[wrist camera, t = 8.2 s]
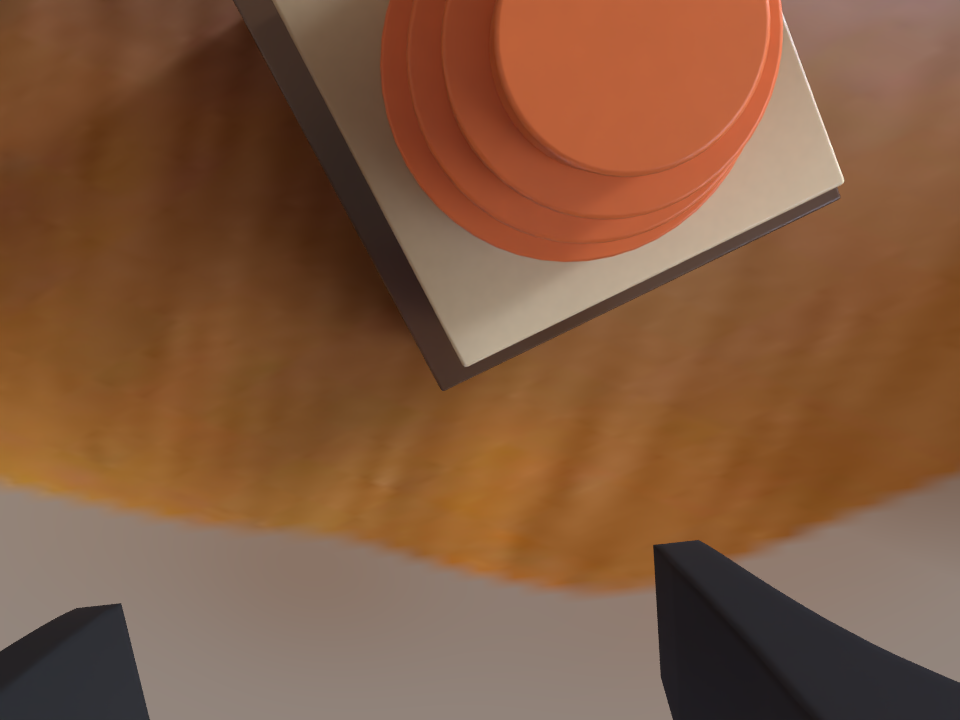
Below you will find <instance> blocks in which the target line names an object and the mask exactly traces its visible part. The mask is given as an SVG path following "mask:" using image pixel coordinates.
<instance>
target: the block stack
mask: <svg viewBox="0 0 960 720" xmlns="http://www.w3.org/2000/svg"><path fill="white" fill-rule="evenodd" d="M233 1H234V3H235V5H236V7H237V9H238V11H239V13H240V14H241V16H242V18H243V20H244V22H245V24H246V26H247V28H248V29H249V31H250V33H251V35H252V37H253V39H254V41H255V43H256V44H257V46H258V48H259V50H260V52H261V54H262V56H263V58H264V59H265V61H266V63H267V65H268V67H269V69H270V71H271V72H272V74H273V76H274V78H275V80H276V82H277V84H278V86H279V87H280V89H281V91H282V93H283V95H284V97H285V99H286V101H287V102H288V104H289V106H290V108H291V110H292V112H293V114H294V116H295V117H296V119H297V121H298V123H299V125H300V127H301V129H302V131H303V132H304V134H305V136H306V138H307V140H308V142H309V144H310V146H311V147H312V149H313V151H314V153H315V155H316V157H317V159H318V160H319V162H320V164H321V166H322V168H323V170H324V172H325V174H326V175H327V177H328V179H329V181H330V183H331V185H332V187H333V189H334V190H335V192H336V194H337V196H338V198H339V200H340V202H341V204H342V205H343V207H344V209H345V211H346V213H347V215H348V217H349V219H350V220H351V222H352V224H353V226H354V228H355V230H356V232H357V234H358V235H359V237H360V239H361V241H362V243H363V245H364V247H365V248H366V250H367V252H368V254H369V256H370V258H371V260H372V262H373V263H374V265H375V267H376V269H377V271H378V273H379V275H380V277H381V278H382V280H383V282H384V284H385V286H386V288H387V290H388V292H389V293H390V295H391V297H392V299H393V301H394V303H395V305H396V307H397V308H398V310H399V312H400V314H401V316H402V318H403V320H404V321H405V323H406V325H407V327H408V329H409V331H410V333H411V335H412V336H413V338H414V340H415V342H416V344H417V346H418V348H419V350H420V351H421V353H422V355H423V357H424V359H425V361H426V363H427V365H428V366H429V368H430V370H431V372H432V374H433V376H434V378H435V380H436V381H437V383H438V385H439V387H440V389H441V390H442V391H445V390H447V389H449V388H451V387H453V386H455V385H457V384H459V383H461V382H464V381H466V380H468V379H470V378H472V377H474V376H476V375H478V374H480V373H482V372H484V371H486V370H488V369H490V368H492V367H494V366H497V365H499V364H501V363H503V362H505V361H507V360H509V359H511V358H513V357H515V356H517V355H519V354H521V353H523V352H525V351H527V350H529V349H532V348H534V347H536V346H538V345H540V344H542V343H544V342H546V341H548V340H550V339H552V338H554V337H556V336H558V335H560V334H562V333H565V332H567V331H569V330H571V329H573V328H575V327H577V326H579V325H581V324H583V323H585V322H587V321H589V320H591V319H593V318H595V317H598V316H600V315H602V314H604V313H606V312H608V311H610V310H612V309H614V308H616V307H618V306H620V305H622V304H624V303H626V302H628V301H631V300H633V299H635V298H637V297H639V296H641V295H643V294H645V293H647V292H649V291H651V290H653V289H655V288H657V287H659V286H661V285H663V284H666V283H668V282H670V281H672V280H674V279H676V278H678V277H680V276H682V275H684V274H686V273H688V272H690V271H692V270H694V269H696V268H699V267H701V266H703V265H705V264H707V263H709V262H711V261H713V260H715V259H717V258H719V257H721V256H723V255H725V254H727V253H729V252H732V251H734V250H736V249H738V248H740V247H742V246H744V245H746V244H748V243H750V242H752V241H754V240H756V239H758V238H760V237H762V236H765V235H767V234H769V233H771V232H773V231H775V230H777V229H779V228H781V227H783V226H785V225H787V224H789V223H791V222H793V221H795V220H798V219H800V218H802V217H804V216H806V215H808V214H810V213H812V212H814V211H816V210H818V209H820V208H822V207H824V206H826V205H828V204H830V203H833V202H835V201H837V200H838V199H840V194H839V191H838V188H837V187H838V186H840V185H842V184H843V183H844V178H843V175H842V173H841V170H840V167H839V164H838V162H837V159H836V156H835V154H834V151H833V148H832V146H831V143H830V140H829V137H828V135H827V132H826V129H825V127H824V124H823V121H822V118H821V116H820V113H819V110H818V108H817V105H816V102H815V99H814V97H813V94H812V91H811V89H810V86H809V83H808V81H807V78H806V75H805V72H804V70H803V67H802V64H801V62H800V59H799V56H798V53H797V51H796V48H795V45H794V43H793V40H792V37H791V34H790V32H789V29H788V26H787V24H786V21H785V18H784V16H783V13H782V17H783V42H782V54H781V60H780V66H779V72H778V76H777V79H776V83H775V86H774V90H773V93H772V96H771V99H770V101H769V103H768V106H767V108H766V110H765V113H764V115H763V118H762V119H761V121H760V123H759V125H758V126H757V128H756V130H755V131H754V133H753V135H752V137H751V138H750V140H749V141H748V142H747V144H746V145H745V147H744V149H743V150H742V152H741V154H740V156H739V157H738V159H737V161H736V162H735V164H734V166H733V167H732V169H731V171H730V172H729V174H728V175H727V176H726V178H725V179H724V181H723V182H722V183H721V185H720V186H719V187H718V189H717V190H716V191H715V192H714V193H713V195H712V196H711V197H710V198H709V199H708V200H707V201H706V202H705V203H704V204H703V205H702V206H701V207H700V208H699V209H698V210H697V211H696V212H695V213H693V214H692V215H691V216H690V217H689V218H687V219H686V220H685V221H684V222H682V223H681V224H680V225H679V226H677V227H676V228H674V229H673V230H671V231H669V232H668V233H666V234H665V235H663V236H662V237H660V238H658V239H657V240H654V241H652V242H650V243H648V244H646V245H644V246H642V247H639V248H637V249H635V250H632V251H629V252H626V253H622V254H619V255H616V256H613V257H608V258H603V259H597V260H592V261H579V262H556V261H544V260H538V259H533V258H528V257H524V256H519V255H516V254H513V253H510V252H508V251H505V250H502V249H499V248H496V247H494V246H492V245H490V244H488V243H487V242H485V241H483V240H481V239H479V238H477V237H475V236H473V235H472V234H470V233H469V232H468V231H466V230H465V229H463V228H462V227H460V226H459V225H458V224H456V223H455V222H453V221H452V220H451V219H450V218H449V217H448V216H447V215H446V214H445V213H444V212H443V211H441V210H440V209H439V208H438V207H437V206H436V205H435V204H434V203H433V201H432V200H431V199H430V198H429V197H428V195H427V194H426V193H425V192H424V191H423V190H422V188H421V187H420V186H419V184H418V183H417V181H416V180H415V178H414V176H413V175H412V173H411V172H410V170H409V169H408V167H407V166H406V164H405V161H404V159H403V157H402V155H401V153H400V151H399V149H398V147H397V145H396V143H395V140H394V137H393V134H392V131H391V128H390V125H389V122H388V119H387V114H386V109H385V104H384V99H383V94H382V85H381V71H380V57H381V38H382V32H383V27H384V21H385V15H386V11H387V7H388V4H389V1H390V0H233Z"/></svg>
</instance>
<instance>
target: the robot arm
mask: <svg viewBox="0 0 960 720" xmlns="http://www.w3.org/2000/svg"><path fill="white" fill-rule="evenodd" d="M653 548H654V565H655V583H656V600H657V617H658V634H659V652H660V670H661V679H662V683H663V686H664V690H665V693H666V697H667V700H668V704H669V707H670V711H671V714H672V718H673V720H960V683H959V682H957V681H954V680H952V679H949V678H947V677H945V676H942V675H940V674H938V673H935V672H933V671H931V670H929V669H927V668H924V667H922V666H920V665H917V664H915V663H912V662H911V661H908V660H906V659H904V658H901V657H899V656H897V655H895V654H892V653H891V652H889V651H887V650H884V649H882V648H880V647H878V646H876V645H874V644H872V643H870V642H868V641H866V640H864V639H863V638H861V637H859V636H857V635H855V634H853V633H851V632H849V631H848V630H846V629H844V628H842V627H840V626H838V625H836V624H835V623H833V622H830V621H829V620H827V619H825V618H823V617H821V616H820V615H818V614H817V613H815V612H813V611H811V610H810V609H808V608H806V607H804V606H803V605H801V604H800V603H798V602H796V601H795V600H793V599H791V598H790V597H788V596H786V595H785V594H783V593H781V592H780V591H778V590H777V589H775V588H773V587H772V586H770V585H769V584H767V583H765V582H764V581H762V580H761V579H759V578H758V577H756V576H755V575H753V574H751V573H750V572H748V571H747V570H745V569H744V568H742V567H741V566H739V565H738V564H736V563H735V562H733V561H732V560H730V559H729V558H727V557H725V556H724V555H722V554H721V553H719V552H718V551H716V550H715V549H713V548H711V547H710V546H708V545H706V544H705V543H703V542H701V541H699V540H695V541H686V542H677V543H668V544H659V545H653ZM0 720H150V719H149V715H148V711H147V707H146V703H145V699H144V695H143V691H142V687H141V682H140V679H139V674H138V670H137V666H136V662H135V658H134V654H133V650H132V646H131V642H130V638H129V633H128V629H127V625H126V621H125V617H124V613H123V609H122V605H121V603H120V604H111V605H102V606H93V607H84V608H76V609H74V610H72V611H70V612H67V613H65V614H63V615H61V616H59V617H57V618H55V619H54V620H52V621H50V622H48V623H47V624H45V625H43V626H41V627H39V628H38V629H36V630H34V631H33V632H31V633H29V634H28V635H26V636H25V637H23V638H21V639H20V640H18V641H16V642H15V643H13V644H11V645H10V646H8V647H7V648H5V649H4V650H2V651H0Z"/></svg>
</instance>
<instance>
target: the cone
mask: <svg viewBox="0 0 960 720" xmlns="http://www.w3.org/2000/svg"><path fill="white" fill-rule="evenodd" d="M782 42H783V17H782V4H781V0H390V1H389V4H388V7H387V11H386V15H385V21H384V27H383V32H382V38H381V57H380V71H381V85H382V94H383V99H384V104H385V109H386V114H387V119H388V122H389V125H390V128H391V131H392V134H393V137H394V140H395V143H396V145H397V147H398V149H399V151H400V153H401V155H402V157H403V159H404V161H405V164H406V166H407V167H408V169H409V170H410V172H411V173H412V175H413V176H414V178H415V180H416V181H417V183H418V184H419V186H420V187H421V188H422V190H423V191H424V192H425V193H426V194H427V195H428V197H429V198H430V199H431V200H432V201H433V203H434V204H435V205H436V206H437V207H438V208H439V209H440V210H441V211H443V212H444V213H445V214H446V215H447V216H448V217H449V218H450V219H451V220H452V221H453V222H455V223H456V224H458V225H459V226H460V227H462V228H463V229H465V230H466V231H468V232H469V233H470V234H472V235H473V236H475V237H477V238H479V239H481V240H483V241H485V242H487V243H488V244H490V245H492V246H494V247H496V248H499V249H502V250H505V251H508V252H510V253H513V254H516V255H519V256H524V257H528V258H533V259H538V260H544V261H556V262H579V261H592V260H597V259H603V258H608V257H613V256H616V255H619V254H622V253H626V252H629V251H632V250H635V249H637V248H639V247H642V246H644V245H646V244H648V243H650V242H652V241H654V240H657V239H658V238H660V237H662V236H663V235H665V234H666V233H668V232H669V231H671V230H673V229H674V228H676V227H677V226H679V225H680V224H681V223H682V222H684V221H685V220H686V219H687V218H689V217H690V216H691V215H692V214H693V213H695V212H696V211H697V210H698V209H699V208H700V207H701V206H702V205H703V204H704V203H705V202H706V201H707V200H708V199H709V198H710V197H711V196H712V195H713V193H714V192H715V191H716V190H717V189H718V187H719V186H720V185H721V183H722V182H723V181H724V179H725V178H726V176H727V175H728V174H729V172H730V171H731V169H732V167H733V166H734V164H735V162H736V161H737V159H738V157H739V156H740V154H741V152H742V150H743V149H744V147H745V145H746V144H747V142H748V141H749V140H750V138H751V137H752V135H753V133H754V131H755V130H756V128H757V126H758V125H759V123H760V121H761V119H762V118H763V115H764V113H765V110H766V108H767V106H768V103H769V101H770V99H771V96H772V93H773V90H774V86H775V83H776V79H777V76H778V72H779V66H780V60H781V54H782Z"/></svg>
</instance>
